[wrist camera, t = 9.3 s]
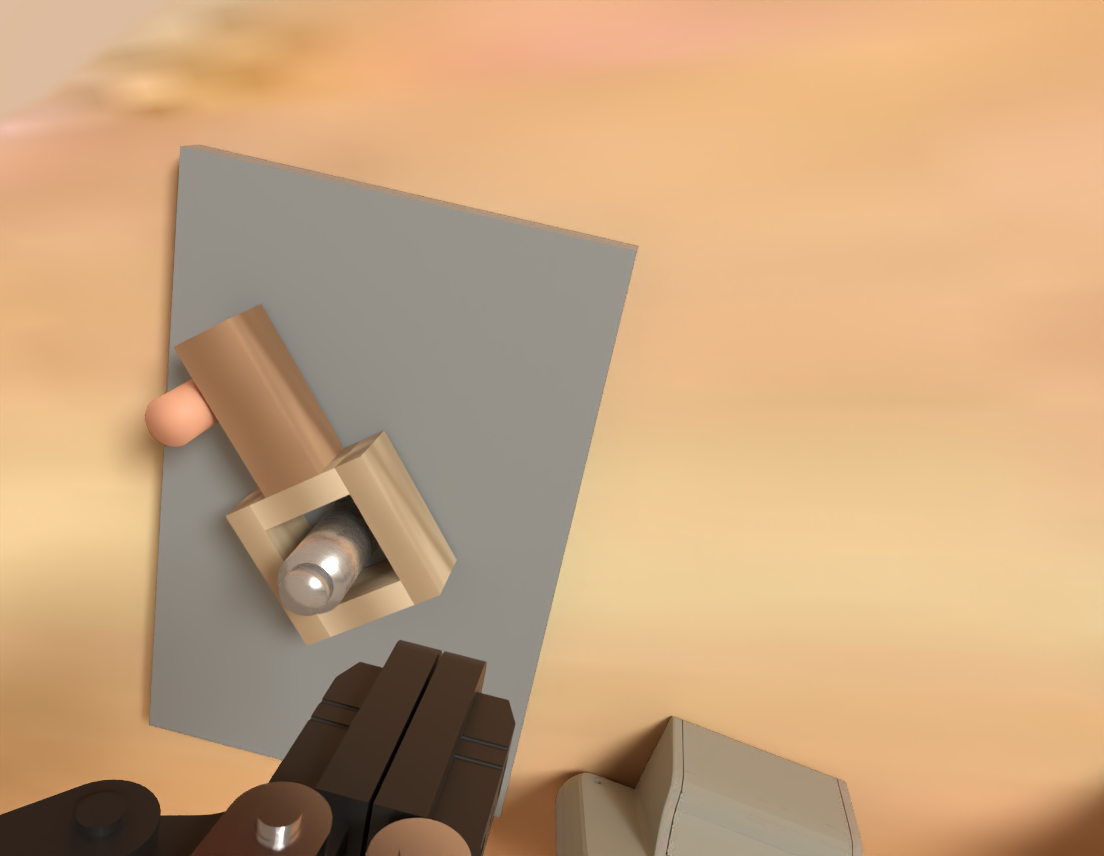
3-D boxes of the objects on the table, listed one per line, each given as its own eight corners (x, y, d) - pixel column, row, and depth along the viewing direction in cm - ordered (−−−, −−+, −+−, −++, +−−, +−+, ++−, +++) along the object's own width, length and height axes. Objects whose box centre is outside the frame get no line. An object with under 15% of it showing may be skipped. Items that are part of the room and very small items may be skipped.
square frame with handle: (302, 283, 35) (269, 297, 32) (456, 560, 38) (439, 595, 35) (173, 348, 37) (132, 367, 34) (332, 608, 40) (307, 645, 37)
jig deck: (637, 246, 34) (636, 251, 33) (505, 795, 44) (500, 817, 43) (199, 144, 35) (180, 146, 34) (165, 706, 45) (149, 724, 44)
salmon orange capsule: (245, 374, 37) (196, 403, 33) (241, 418, 37) (193, 452, 34) (199, 363, 37) (146, 391, 33) (196, 407, 38) (144, 439, 34)
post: (391, 502, 38) (340, 573, 32) (383, 554, 39) (332, 632, 33) (333, 487, 38) (271, 555, 32) (326, 540, 39) (265, 615, 33)
